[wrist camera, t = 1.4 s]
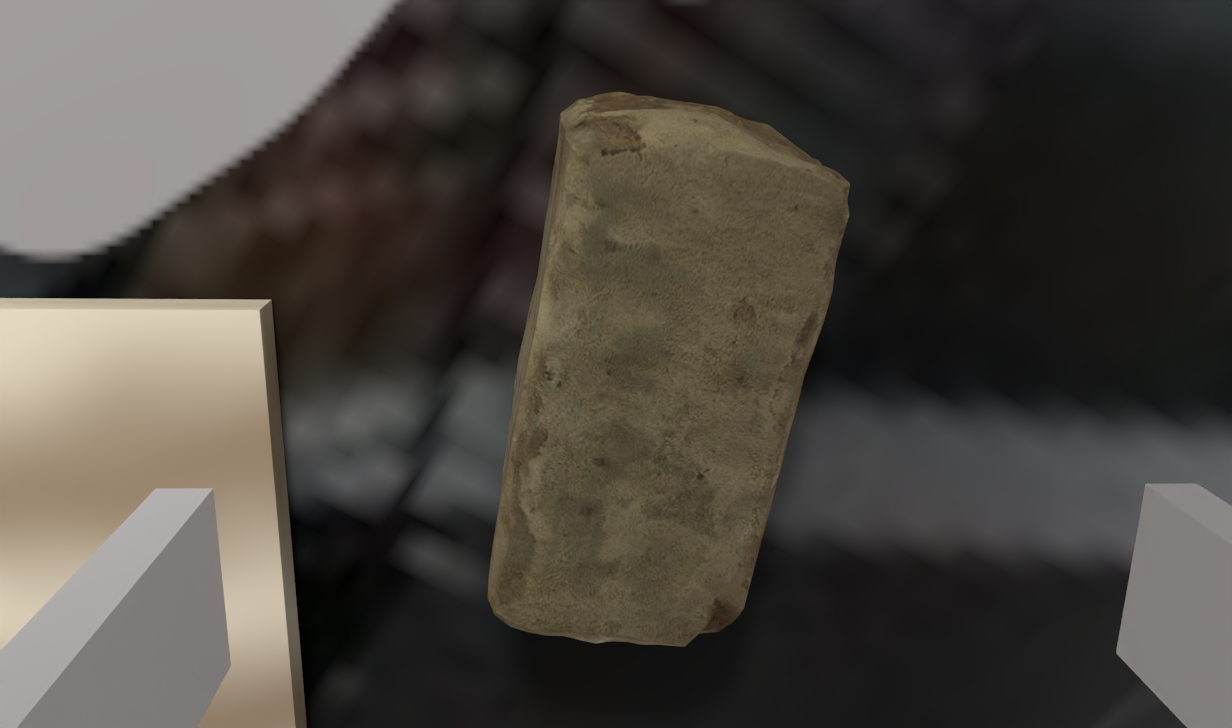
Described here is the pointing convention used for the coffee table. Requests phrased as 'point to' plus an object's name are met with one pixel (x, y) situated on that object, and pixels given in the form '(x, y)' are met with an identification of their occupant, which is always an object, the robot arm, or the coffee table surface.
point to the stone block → (659, 369)
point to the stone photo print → (152, 465)
